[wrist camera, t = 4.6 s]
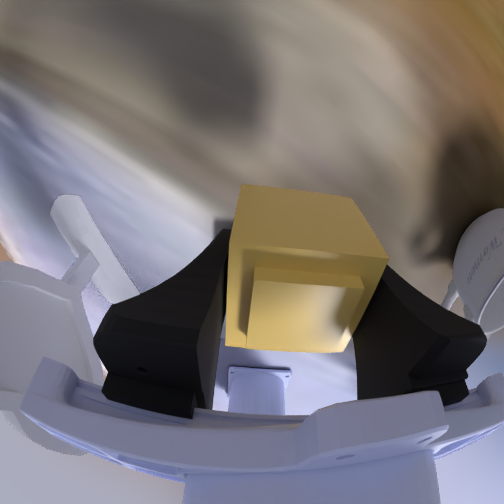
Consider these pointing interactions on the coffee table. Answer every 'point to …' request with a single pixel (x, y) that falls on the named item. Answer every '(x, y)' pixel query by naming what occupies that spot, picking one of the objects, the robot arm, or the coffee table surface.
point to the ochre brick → (298, 270)
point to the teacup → (480, 272)
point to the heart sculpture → (55, 316)
